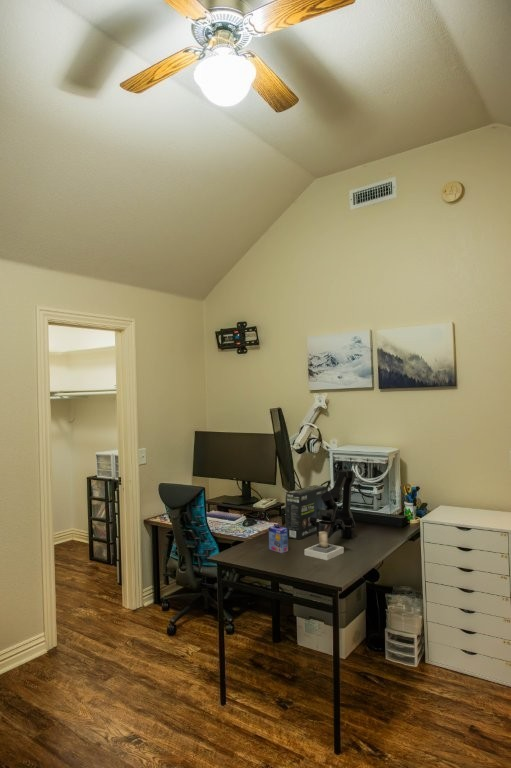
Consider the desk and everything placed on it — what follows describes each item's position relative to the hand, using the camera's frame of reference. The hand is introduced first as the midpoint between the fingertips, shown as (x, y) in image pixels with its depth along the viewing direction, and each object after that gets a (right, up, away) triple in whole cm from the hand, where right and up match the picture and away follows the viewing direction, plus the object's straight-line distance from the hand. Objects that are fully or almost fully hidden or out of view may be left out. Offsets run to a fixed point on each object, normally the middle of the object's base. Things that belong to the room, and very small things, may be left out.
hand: (322, 537), depth 251 cm
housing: (+1, -9, +1) cm, 9 cm away
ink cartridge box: (-23, -10, +8) cm, 27 cm away
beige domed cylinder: (+1, -8, +1) cm, 8 cm away
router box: (-3, -12, +45) cm, 47 cm away
